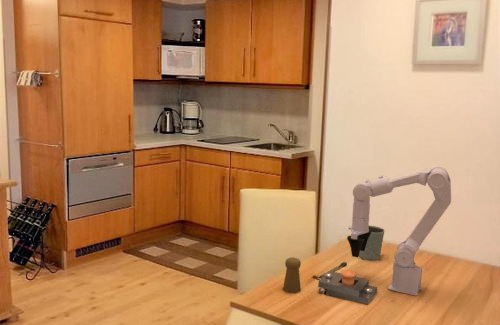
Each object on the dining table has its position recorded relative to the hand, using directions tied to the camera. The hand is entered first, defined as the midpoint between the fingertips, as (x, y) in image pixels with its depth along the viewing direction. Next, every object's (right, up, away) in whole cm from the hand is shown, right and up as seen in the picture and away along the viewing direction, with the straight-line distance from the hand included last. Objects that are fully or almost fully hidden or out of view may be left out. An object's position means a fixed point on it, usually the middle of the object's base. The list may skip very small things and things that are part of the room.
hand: (358, 253), depth 179 cm
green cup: (+10, -6, +26) cm, 29 cm away
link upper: (-7, -11, -8) cm, 16 cm away
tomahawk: (-7, -9, +9) cm, 15 cm away
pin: (-6, -12, -9) cm, 16 cm away
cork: (-24, -11, -8) cm, 28 cm away
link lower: (-4, -12, -10) cm, 16 cm away
